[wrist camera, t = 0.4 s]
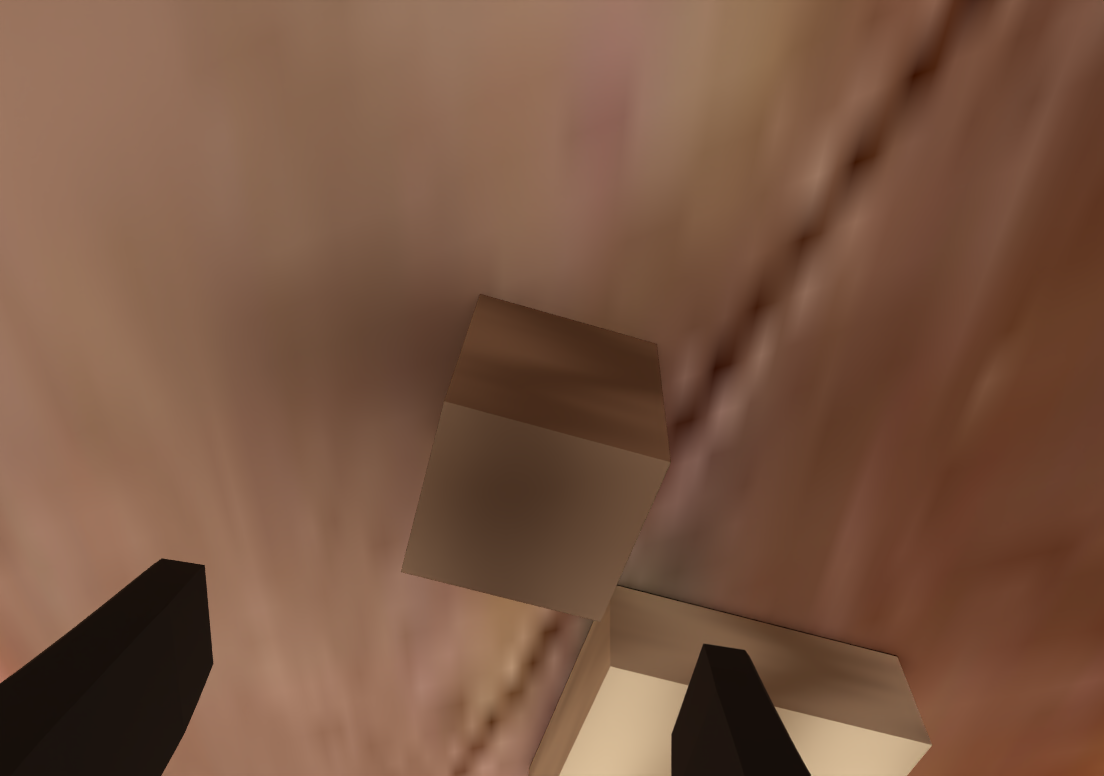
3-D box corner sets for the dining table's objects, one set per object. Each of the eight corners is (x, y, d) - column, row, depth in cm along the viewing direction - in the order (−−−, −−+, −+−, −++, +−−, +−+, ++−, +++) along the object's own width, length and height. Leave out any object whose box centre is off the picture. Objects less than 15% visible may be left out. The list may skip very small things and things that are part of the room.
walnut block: (656, 342, 20) (670, 462, 15) (601, 482, 22) (600, 621, 18) (480, 292, 19) (444, 401, 15) (441, 440, 21) (400, 572, 17)
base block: (897, 656, 24) (932, 745, 22) (774, 825, 29) (791, 915, 26) (609, 583, 24) (610, 666, 21) (529, 768, 28) (521, 855, 25)
